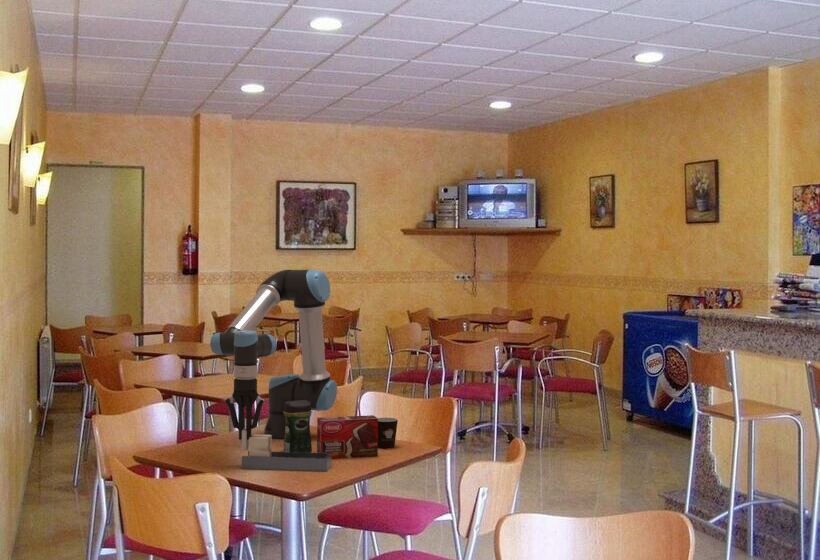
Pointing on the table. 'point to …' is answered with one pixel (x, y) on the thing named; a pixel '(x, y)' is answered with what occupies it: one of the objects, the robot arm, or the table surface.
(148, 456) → the table surface
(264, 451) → the block
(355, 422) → the ice cream box
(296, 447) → the coffee jar
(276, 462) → the chute
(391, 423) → the coffee mug
